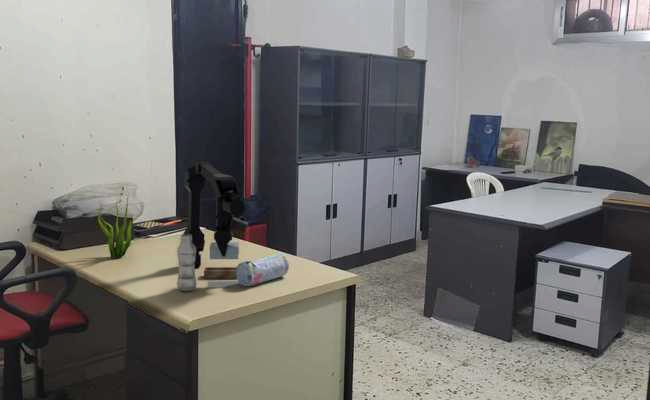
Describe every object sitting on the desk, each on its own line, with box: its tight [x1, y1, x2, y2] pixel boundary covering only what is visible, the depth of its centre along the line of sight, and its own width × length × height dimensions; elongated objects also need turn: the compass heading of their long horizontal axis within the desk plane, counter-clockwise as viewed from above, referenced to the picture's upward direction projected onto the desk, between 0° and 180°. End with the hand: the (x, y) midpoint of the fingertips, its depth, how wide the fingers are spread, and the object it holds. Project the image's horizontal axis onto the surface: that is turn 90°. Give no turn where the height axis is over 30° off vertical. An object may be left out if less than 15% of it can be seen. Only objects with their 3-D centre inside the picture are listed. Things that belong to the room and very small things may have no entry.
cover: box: [209, 241, 240, 260], centre depth 219 cm, size 10×7×4 cm
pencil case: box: [236, 252, 290, 287], centre depth 226 cm, size 21×9×10 cm, turn 139°
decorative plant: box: [97, 193, 143, 259], centre depth 255 cm, size 18×30×15 cm
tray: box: [203, 266, 237, 280], centre depth 231 cm, size 16×5×3 cm, turn 96°
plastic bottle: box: [176, 233, 197, 292], centre depth 212 cm, size 6×7×20 cm
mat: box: [206, 280, 242, 289], centre depth 221 cm, size 12×8×1 cm, turn 96°
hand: (224, 253), depth 219 cm, fingers closed on cover, 7 cm apart
